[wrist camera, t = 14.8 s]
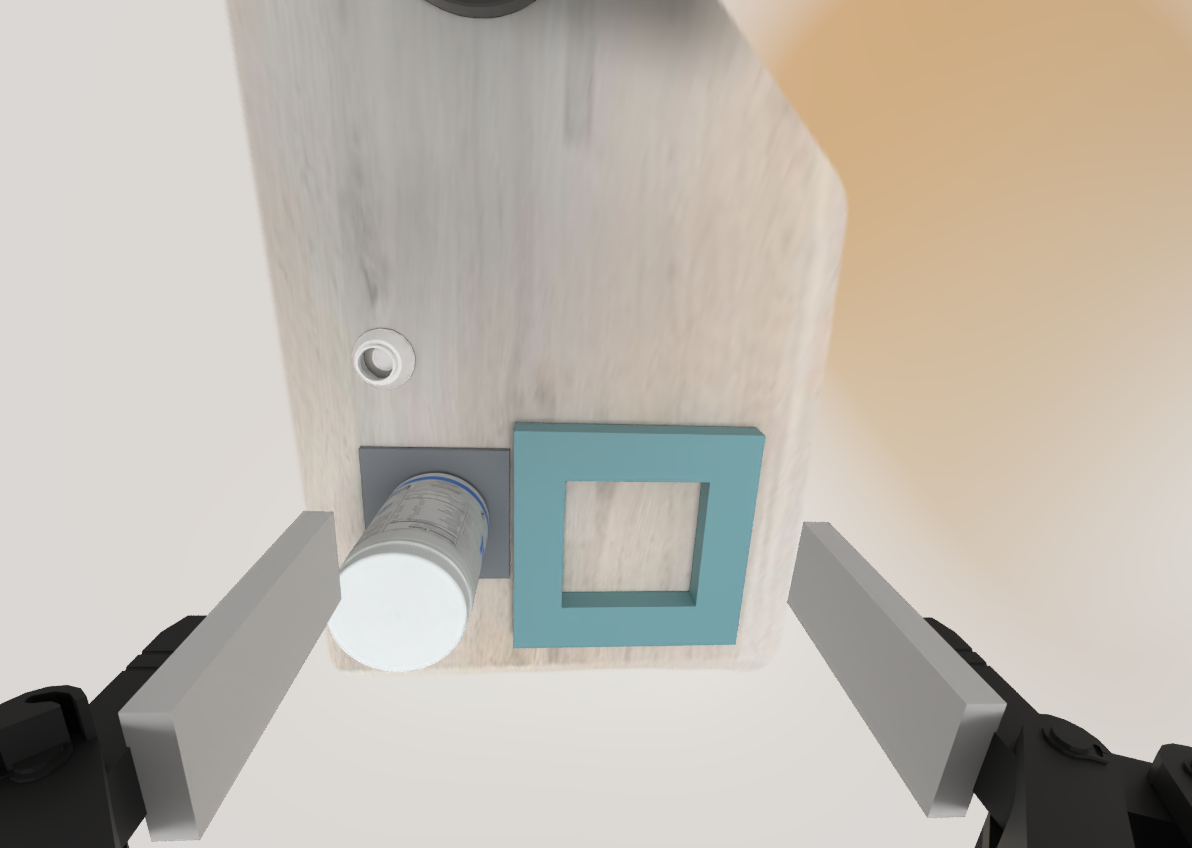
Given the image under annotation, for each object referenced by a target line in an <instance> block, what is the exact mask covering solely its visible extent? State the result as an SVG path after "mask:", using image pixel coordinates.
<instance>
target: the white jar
mask: <svg viewBox="0 0 1192 848" xmlns="http://www.w3.org/2000/svg"><path fill="white" fill-rule="evenodd" d="M370 348H376V349H375V350H374V352H373V354H372V360H373V363H374V365H375V366H376V367H377V368H379V369H381V370H385V371H387V370H391V369H392V372H391V374H390V375H389V376H388V377H387V378H379V377H377V376H375V375H374V374H372V373H371V372H370V371H369V370H368V368H367V367H366V365H365V362H364V351H365V350H367V349H370ZM352 364H353V366H354V369H355V371H356V373H357V374H358V375H359V377H360V378H361V379H362V380H363V381H364V382H365V383H367V384H369V385H371V386H373V387H375V388H381V389H391V388H395V387H399V386H400V385H402V384H403V383H404V382H406V381H407V380H408V379H409V378H410V376H411V374H412V372H413V370H414V368H415V355H414V352H413V349H412V347H411V345H410V344H409V343H408V341H407V340H406V339H405V338H404V337H403V336H402V335H400V334H398V333H396V332H394V331H393V330H388V329H381V328H379V329H375V330H371V331H367V332H366V333H364V334H363V335H362V336H361V337H359V338H358V339H357V341H356V343H355V345H354V347H353V349H352Z"/></svg>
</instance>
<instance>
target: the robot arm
mask: <svg viewBox="0 0 1192 848" xmlns="http://www.w3.org/2000/svg"><path fill="white" fill-rule="evenodd" d="M427 1H428V2H430V3H432V4H433V5H435V6H437V7H439V8H441V9H443V10H446V11H448V12H451V13H454V14H458V15H462V16H467V17H474V18H491V17H498V16H503V15H507V14H510V13H513V12H516V11H518V10H520V9H522V8H524V7H526V6H528V5H529V4H531V3H533V2H534V1H535V0H427ZM341 599H342V598H341V587H340V576H339V566H338V555H337V545H336V534H335V523H334V513H333V512H324V511H303V512H302V513H301V514H300V516H299V517H298V518H297V519H296V520H295V521H294V522H293V523H292V524H291V525H290V526H289V527H288V529H287V530H286V531H285V532H284V533H283V534H282V535H281V536H280V537H279V538H278V539H277V541H276V542H275V543H274V544H273V545H272V546H271V547H270V548H269V549H268V550H267V551H266V553H265V554H264V555H263V556H262V557H261V558H260V559H259V560H258V561H257V562H256V563H255V565H253V567H252V568H251V569H250V570H249V571H248V572H247V573H246V574H245V575H244V576H243V578H242V579H241V580H240V581H239V582H238V583H237V584H236V585H235V586H234V587H233V588H232V589H231V591H230V592H229V593H228V594H227V595H226V596H225V597H224V598H223V599H222V600H221V601H220V602H219V604H218V605H217V606H216V607H215V608H214V609H213V610H212V611H211V612H210V613H209V614H208V615H207V616H187V617H185V618H183V619H182V620H180V621H178V622H177V623H175V624H174V625H172V626H170V627H169V628H167V629H166V630H164V631H162V632H161V633H160V634H159V635H158V636H157V637H156V638H155V639H154V640H153V641H152V642H151V643H150V644H149V645H148V646H147V647H146V648H145V649H144V650H143V651H142V654H141V655H138V656H137V657H136V658H135V659H134V660H133V661H132V662H131V663H130V664H129V665H128V666H127V667H126V670H125V671H122V672H121V673H120V674H119V675H118V676H117V677H116V678H115V679H114V680H113V681H112V682H111V683H110V684H109V685H108V686H107V687H106V688H105V689H104V690H103V691H102V692H101V693H100V694H99V695H98V696H97V697H96V698H95V699H94V700H93V701H92V702H91V703H90V704H88V700H87V697H86V695H85V694H84V692H83V691H82V690H81V688H77V687H73V686H69V685H63V686H51V687H45V688H42V689H38V690H35V691H31V692H27V693H24V694H22V695H20V696H18V697H15V698H13V699H11V700H9V701H6V702H4V703H2V704H0V848H129V846H128V842H127V841H128V840H129V838H130V837H131V836H132V834H133V833H134V831H135V830H136V829H137V827H138V826H139V824H140V823H141V822H142V820H143V819H144V817H145V818H146V822H147V826H148V830H149V833H150V837H151V841H152V842H153V841H185V840H200V839H201V837H202V836H203V834H204V832H205V830H206V829H207V827H208V825H209V824H210V822H211V820H212V818H213V817H214V815H215V813H216V812H217V810H218V808H219V807H220V805H221V803H222V801H223V800H224V798H225V796H226V795H227V793H228V791H229V790H230V788H231V786H232V785H233V783H234V781H235V779H236V778H237V776H238V774H239V773H240V771H241V769H242V767H243V766H244V764H245V762H246V761H247V759H248V757H249V756H250V754H251V752H252V750H253V749H254V747H255V745H256V744H257V742H258V740H259V739H260V737H261V735H262V734H263V732H264V730H265V728H266V727H267V725H268V723H269V722H270V720H271V718H272V717H273V715H274V713H275V711H276V710H277V708H278V706H279V704H280V703H281V701H282V700H283V698H284V696H285V694H286V693H287V691H288V689H289V688H290V686H291V684H292V683H293V681H294V679H295V677H296V676H297V674H298V672H299V671H300V669H301V667H302V665H303V664H304V662H305V660H306V659H307V657H308V655H309V654H310V652H311V650H312V649H313V647H314V645H315V643H316V642H317V640H318V638H319V637H320V635H321V633H322V632H323V630H324V628H325V626H326V625H327V623H328V621H329V620H330V618H331V616H332V615H333V613H334V611H335V609H336V608H337V606H338V604H339V603H340V601H341ZM787 603H788V604H789V606H790V607H791V609H792V610H793V612H794V613H795V615H796V617H797V618H798V620H799V621H800V623H801V624H802V626H803V627H804V629H805V630H806V632H807V633H808V635H809V637H810V638H811V640H812V641H813V643H814V644H815V646H816V647H817V649H818V650H819V652H820V653H821V655H822V656H823V658H824V659H825V661H826V663H827V664H828V666H829V667H830V669H831V670H832V672H833V673H834V675H835V677H836V678H837V679H838V681H839V683H840V684H841V686H842V687H843V689H844V690H845V692H846V693H847V695H848V696H849V698H850V700H851V701H852V703H853V704H854V706H855V707H856V709H857V710H858V712H859V713H860V715H861V717H862V718H863V720H864V721H865V722H866V724H867V725H868V727H869V729H870V730H871V732H872V733H873V735H874V737H875V738H876V739H877V741H878V743H879V744H880V746H881V747H882V749H883V750H884V752H885V753H886V755H887V757H888V758H889V760H890V761H891V763H892V764H893V766H894V767H895V769H896V770H897V772H898V773H899V775H900V777H901V778H902V780H903V781H904V783H905V784H906V786H907V787H908V789H909V790H910V792H911V793H912V795H913V797H914V798H915V800H916V801H917V803H918V804H919V806H920V807H921V809H922V810H923V812H924V813H925V815H926V816H927V818H942V817H965V815H966V812H967V810H968V807H969V804H970V802H971V799H972V796H973V794H974V793H975V794H976V796H977V797H978V798H979V800H980V801H981V802H982V804H983V805H984V806H985V808H986V809H987V810H988V811H989V813H988V815H987V818H986V821H985V823H984V826H983V828H982V831H981V833H980V836H979V838H978V841H977V843H976V846H975V848H1192V747H1189V746H1183V745H1178V744H1166V745H1162V746H1161V748H1160V750H1159V751H1158V753H1157V755H1156V757H1155V759H1154V761H1153V763H1150V762H1146V761H1141V760H1137V759H1133V758H1129V757H1125V756H1120V755H1116V754H1112V753H1111V752H1110V751H1109V750H1108V749H1107V748H1106V747H1105V746H1104V745H1103V744H1102V743H1101V742H1100V741H1099V740H1098V739H1097V738H1095V737H1094V736H1092V735H1091V734H1089V733H1088V732H1087V731H1085V730H1084V729H1083V728H1081V727H1079V726H1076V725H1075V724H1072V723H1071V722H1069V721H1066V720H1064V719H1061V718H1058V717H1055V716H1052V715H1048V714H1039V713H1037V711H1036V710H1035V709H1033V707H1032V706H1030V705H1029V704H1028V703H1027V702H1026V701H1025V700H1024V699H1023V698H1022V697H1021V696H1020V695H1019V694H1018V693H1017V692H1016V691H1015V690H1014V689H1013V688H1012V687H1011V686H1010V685H1009V684H1008V683H1007V682H1006V681H1005V680H1004V679H1003V678H1002V677H1001V676H1000V675H999V674H998V673H997V672H995V671H994V670H993V669H992V668H991V667H990V666H987V665H986V662H985V661H984V660H983V659H982V658H981V657H980V656H979V655H978V654H977V653H976V652H973V651H972V648H971V647H970V646H969V645H968V644H967V643H966V642H964V640H963V639H962V638H960V637H959V636H958V635H957V634H956V633H955V632H954V631H952V630H951V629H949V628H948V627H946V626H944V625H943V624H941V623H940V622H938V621H937V620H935V619H933V618H922V617H921V616H920V615H919V614H918V613H917V611H916V610H915V609H914V608H913V607H911V605H910V604H909V603H908V602H907V601H906V600H905V599H904V598H903V597H902V596H901V595H900V594H899V593H898V592H897V591H896V590H895V589H894V588H893V587H892V586H891V585H890V584H889V583H888V582H887V581H886V580H885V579H884V578H883V577H882V576H881V575H880V574H879V573H878V572H877V571H876V570H875V569H874V568H873V567H872V566H871V565H870V564H869V563H868V562H867V561H866V560H865V559H864V558H863V557H862V556H861V555H860V554H859V553H858V551H857V550H856V549H855V548H854V547H853V546H852V545H851V544H850V543H848V541H847V540H846V539H845V538H844V537H843V536H842V535H841V534H840V533H839V532H838V531H837V530H836V529H835V528H834V527H833V526H832V525H831V524H830V523H829V522H803V527H802V532H801V537H800V542H799V547H798V552H797V557H796V562H795V567H794V572H793V577H792V582H791V587H790V591H789V596H788V601H787Z"/></svg>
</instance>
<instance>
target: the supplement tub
mask: <svg viewBox="0 0 1192 848" xmlns="http://www.w3.org/2000/svg"><path fill="white" fill-rule="evenodd" d="M488 533H489V513H488V510H487V506H486V504H485V502H484V500H483V498H482V497H481V495H480V494H479V493H478V492H477V490H475V489H474V488H473V487H472V486H471V485H470V484H468V483H467V482H465V481H464V480H462V479H460V478H458V477H455V476H452V475H448V474H443V473H427V474H422V475H418V476H415V477H412V478H410V479H408V480H406V481H405V482H403V483H402V484H400V485H399V486H398V487H397V488H396V489H395V490H394V491H393V492H392V493H391V495H390V496H389V497H388V499H387V500H386V502H385V503H384V505H383V506H382V507H381V509H380V510H379V512H378V513H377V515H376V516H375V517H374V519H373V520H372V522H371V523H370V525H369V526H368V528H367V529H366V530H365V532H364V533H363V535H362V536H361V538H360V539H359V541H358V542H357V544H356V545H355V546H354V548H353V549H352V551H351V552H350V554H349V555H348V557H347V558H346V560H345V561H344V563H343V564H342V566H341V567H340V569H339V576H340V587H341V598H342V599H341V601H340V603H339V604H338V606H337V608H336V609H335V611H334V613H333V615H332V616H331V618H330V620H329V621H328V623H327V626H328V628H329V631H330V633H331V635H332V637H333V638H334V640H335V642H336V643H337V644H338V645H339V647H340V648H341V649H342V650H343V651H344V652H345V653H347V654H348V655H349V656H350V657H352V658H353V659H355V660H356V661H358V662H360V663H362V664H364V665H366V666H369V667H371V668H375V669H378V670H383V671H389V672H408V671H414V670H419V669H422V668H426V667H428V666H431V665H433V664H435V663H437V662H439V661H440V660H442V659H443V658H444V657H446V656H447V655H448V654H449V653H450V652H451V651H452V650H453V649H454V648H455V647H456V645H457V644H458V643H459V641H460V639H461V638H462V635H463V633H464V630H465V628H466V626H467V623H468V621H469V618H470V615H471V611H472V606H473V602H474V598H475V593H476V588H477V584H478V579H479V575H480V570H481V565H482V561H483V556H484V552H485V548H486V543H487V539H488Z"/></svg>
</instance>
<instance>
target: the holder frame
mask: <svg viewBox="0 0 1192 848" xmlns="http://www.w3.org/2000/svg"><path fill="white" fill-rule="evenodd" d="M764 443H765V435H764V434H763V433H762V432H760V431H759V430H758V429H757V428H756V427H716V426H667V425H617V424H567V423H518V422H516V423H515V428H514V593H513V648H562V647H621V646H681V645H735V644H736V637H737V631H738V624H739V617H740V610H741V603H742V596H743V589H744V582H745V575H746V568H747V561H748V554H749V547H750V540H751V533H752V526H753V519H754V512H755V505H756V498H757V491H758V484H759V477H760V470H761V463H762V456H763V449H764ZM565 481H625V482H702V484H701V493H700V502H699V511H698V520H697V529H696V538H695V547H694V556H693V565H692V574H691V583H690V591H666V592H562V574H563V543H564V512H565Z"/></svg>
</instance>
